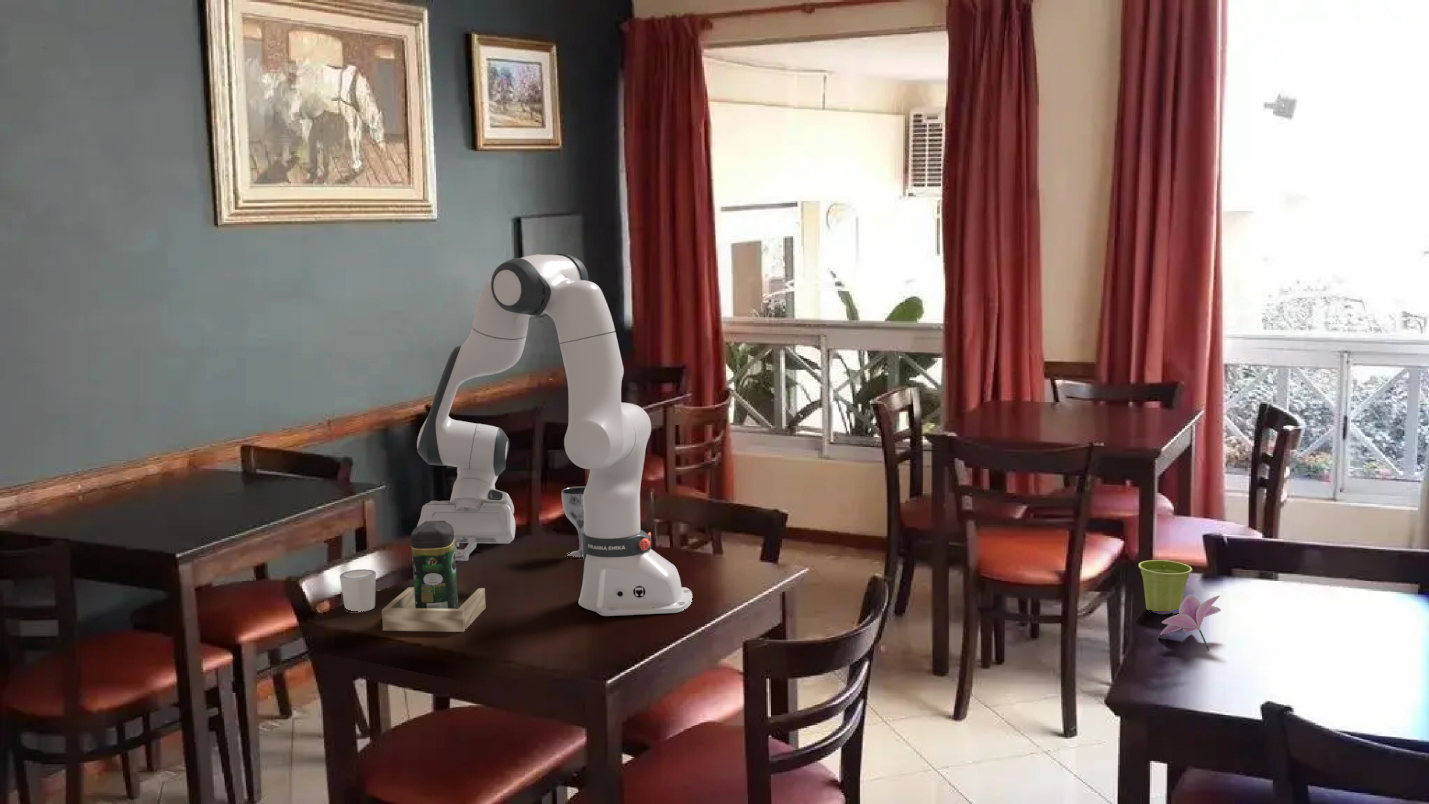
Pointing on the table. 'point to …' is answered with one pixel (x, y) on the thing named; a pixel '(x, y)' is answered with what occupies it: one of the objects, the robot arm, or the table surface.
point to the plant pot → (1164, 584)
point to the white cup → (358, 589)
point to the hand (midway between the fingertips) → (459, 559)
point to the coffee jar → (434, 565)
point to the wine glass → (575, 511)
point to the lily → (1190, 615)
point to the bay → (431, 614)
